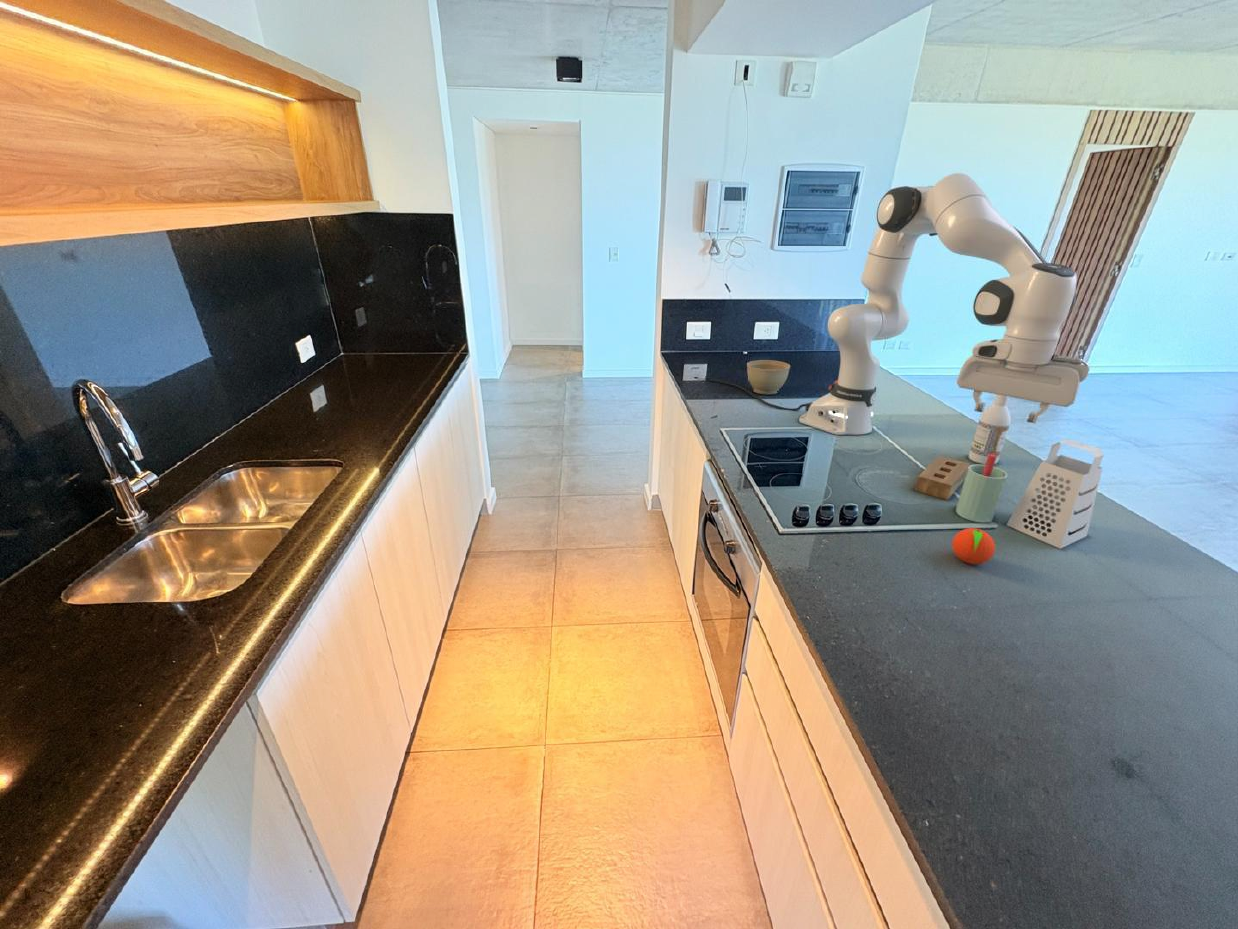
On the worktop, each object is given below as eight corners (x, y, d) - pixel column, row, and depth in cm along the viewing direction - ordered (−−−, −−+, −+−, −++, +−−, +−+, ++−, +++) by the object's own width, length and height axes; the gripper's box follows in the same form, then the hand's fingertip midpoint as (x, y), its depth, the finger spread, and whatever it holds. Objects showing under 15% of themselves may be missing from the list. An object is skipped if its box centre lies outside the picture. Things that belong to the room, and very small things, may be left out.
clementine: (989, 578, 99) (1000, 546, 96) (947, 567, 102) (956, 535, 99) (989, 557, 105) (999, 527, 102) (949, 547, 109) (958, 517, 106)
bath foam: (989, 467, 144) (1012, 397, 135) (963, 459, 149) (983, 390, 140) (1001, 461, 147) (1024, 392, 139) (975, 453, 152) (995, 386, 144)
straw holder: (914, 490, 132) (918, 476, 130) (935, 469, 143) (939, 455, 141) (947, 500, 127) (951, 485, 125) (966, 477, 138) (970, 463, 136)
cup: (951, 514, 121) (964, 471, 116) (960, 503, 125) (973, 461, 121) (988, 526, 116) (1003, 481, 111) (995, 514, 121) (1010, 470, 116)
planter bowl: (791, 389, 211) (795, 362, 206) (779, 400, 198) (783, 371, 194) (752, 383, 219) (755, 357, 214) (738, 393, 206) (741, 366, 202)
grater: (1060, 548, 108) (1097, 459, 100) (1006, 525, 116) (1036, 441, 108) (1086, 535, 112) (1124, 449, 104) (1032, 514, 121) (1063, 432, 112)
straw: (970, 511, 120) (987, 455, 114) (971, 509, 121) (989, 453, 115) (977, 513, 119) (995, 457, 114) (979, 511, 120) (997, 455, 115)
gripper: (1095, 357, 101) (1068, 425, 107) (972, 341, 113) (955, 402, 119) (1091, 363, 96) (1063, 433, 102) (964, 345, 109) (947, 408, 115)
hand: (1004, 416), depth 111 cm, fingers open, 8 cm apart
